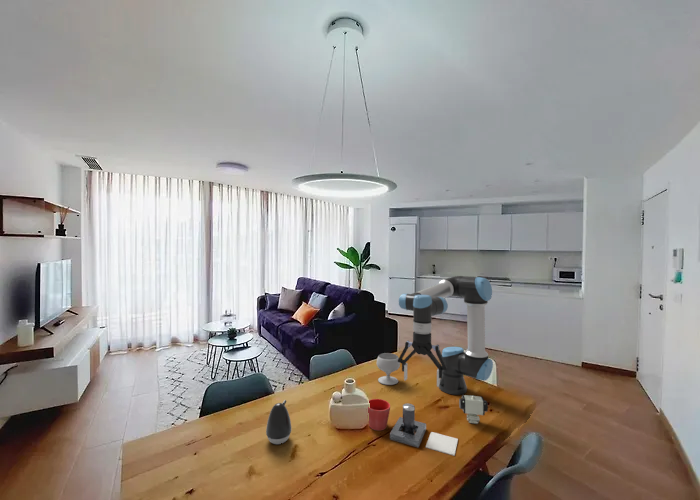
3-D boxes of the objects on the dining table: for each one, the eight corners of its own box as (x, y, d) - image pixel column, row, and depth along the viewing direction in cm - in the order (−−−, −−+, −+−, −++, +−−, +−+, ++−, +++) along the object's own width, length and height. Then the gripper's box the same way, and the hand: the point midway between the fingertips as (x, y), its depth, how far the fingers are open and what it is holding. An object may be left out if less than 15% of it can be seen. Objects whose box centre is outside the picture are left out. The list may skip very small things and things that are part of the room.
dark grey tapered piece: (296, 435, 130) (296, 399, 130) (283, 450, 120) (283, 412, 120) (275, 430, 133) (275, 395, 133) (260, 445, 123) (261, 407, 123)
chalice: (377, 375, 191) (377, 351, 191) (399, 377, 189) (399, 352, 189) (375, 385, 177) (376, 359, 177) (400, 387, 175) (400, 361, 175)
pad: (431, 432, 132) (431, 431, 132) (457, 439, 127) (457, 438, 127) (425, 447, 122) (425, 446, 122) (454, 455, 117) (454, 454, 117)
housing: (399, 422, 140) (399, 416, 140) (426, 429, 134) (426, 423, 134) (389, 439, 127) (389, 433, 127) (418, 447, 122) (418, 441, 122)
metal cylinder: (404, 429, 134) (404, 402, 134) (415, 432, 132) (415, 405, 132) (401, 435, 130) (401, 407, 130) (412, 439, 127) (412, 410, 127)
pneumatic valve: (487, 426, 137) (488, 399, 137) (460, 423, 139) (460, 396, 139) (485, 419, 142) (485, 393, 142) (458, 416, 145) (458, 391, 145)
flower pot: (376, 416, 145) (376, 396, 145) (394, 426, 137) (395, 404, 137) (360, 425, 137) (361, 403, 137) (379, 436, 129) (379, 413, 129)
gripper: (391, 330, 131) (390, 380, 131) (452, 338, 120) (451, 391, 120) (395, 326, 137) (395, 373, 137) (454, 333, 127) (453, 384, 127)
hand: (421, 382), depth 129 cm, fingers open, 13 cm apart
